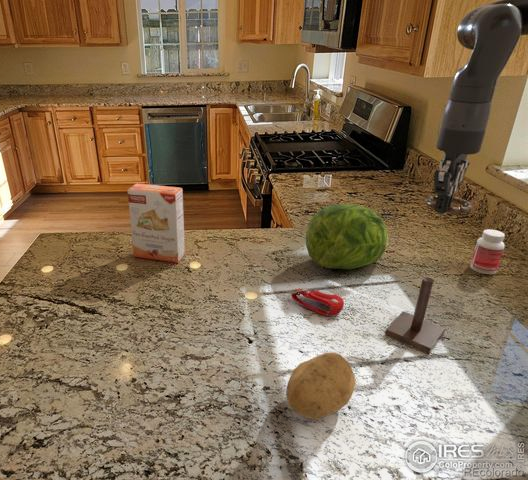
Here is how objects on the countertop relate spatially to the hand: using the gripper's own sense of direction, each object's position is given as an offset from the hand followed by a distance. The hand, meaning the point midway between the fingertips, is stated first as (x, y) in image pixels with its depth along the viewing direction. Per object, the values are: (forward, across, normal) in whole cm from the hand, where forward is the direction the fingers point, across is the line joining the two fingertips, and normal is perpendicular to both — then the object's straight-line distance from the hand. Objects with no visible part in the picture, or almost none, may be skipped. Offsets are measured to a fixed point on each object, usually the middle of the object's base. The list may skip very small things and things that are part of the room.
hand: (441, 210), depth 87 cm
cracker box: (+25, -24, +64) cm, 73 cm away
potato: (+25, -40, +1) cm, 48 cm away
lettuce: (+25, +9, +23) cm, 35 cm away
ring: (0, +4, 0) cm, 4 cm away
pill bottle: (+24, +31, -6) cm, 40 cm away
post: (+25, -10, -3) cm, 27 cm away
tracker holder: (+25, -14, +18) cm, 34 cm away
